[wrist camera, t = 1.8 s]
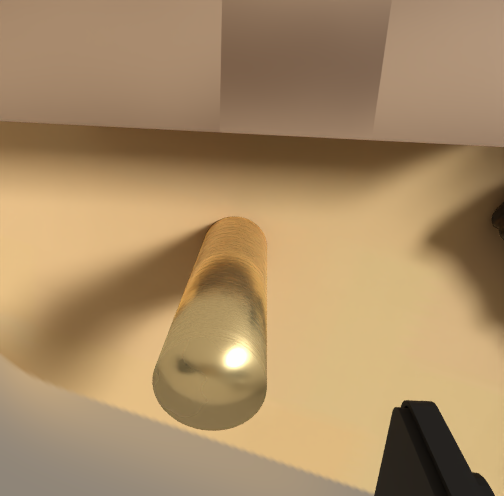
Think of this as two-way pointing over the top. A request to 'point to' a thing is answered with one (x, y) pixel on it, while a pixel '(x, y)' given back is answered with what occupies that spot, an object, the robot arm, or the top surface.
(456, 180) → the top surface
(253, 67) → the hole block
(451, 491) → the robot arm
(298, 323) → the top surface
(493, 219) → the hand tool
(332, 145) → the top surface
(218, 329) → the peg
